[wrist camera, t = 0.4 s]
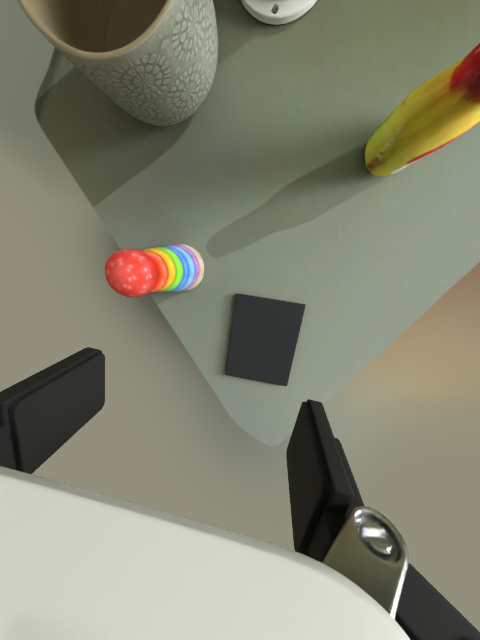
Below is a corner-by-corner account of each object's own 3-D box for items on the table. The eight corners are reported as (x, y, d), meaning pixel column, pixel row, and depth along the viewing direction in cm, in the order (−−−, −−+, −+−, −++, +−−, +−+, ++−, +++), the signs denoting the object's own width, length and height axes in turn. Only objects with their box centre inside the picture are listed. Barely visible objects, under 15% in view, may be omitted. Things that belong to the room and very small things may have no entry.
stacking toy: (189, 299, 41) (128, 331, 23) (154, 271, 41) (63, 283, 23) (214, 264, 39) (168, 270, 21) (177, 234, 38) (96, 214, 20)
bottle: (443, 97, 29) (767, -197, 10) (453, 148, 31) (758, -29, 12) (350, 145, 32) (471, -18, 13) (363, 191, 33) (491, 103, 14)
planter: (95, 92, 34) (-36, -31, 19) (150, -42, 29) (31, -341, 15) (184, 167, 35) (125, 104, 21) (252, 50, 30) (236, -140, 16)
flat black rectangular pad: (236, 293, 40) (236, 293, 39) (304, 304, 39) (305, 305, 38) (225, 372, 44) (225, 374, 44) (286, 384, 43) (286, 386, 43)
